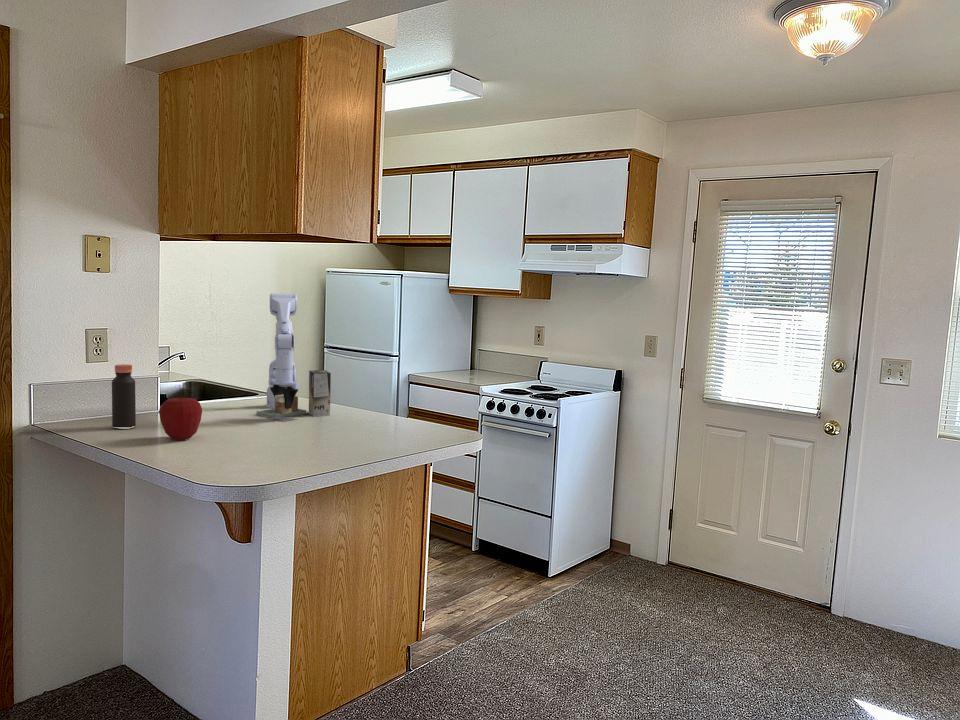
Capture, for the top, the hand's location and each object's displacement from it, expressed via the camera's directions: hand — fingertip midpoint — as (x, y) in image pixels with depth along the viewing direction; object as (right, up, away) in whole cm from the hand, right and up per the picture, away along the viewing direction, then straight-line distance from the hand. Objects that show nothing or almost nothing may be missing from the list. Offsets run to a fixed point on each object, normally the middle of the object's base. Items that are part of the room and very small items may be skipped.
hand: (284, 407), depth 254 cm
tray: (-4, -3, +11) cm, 12 cm away
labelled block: (0, -2, 0) cm, 2 cm away
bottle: (-45, -5, -21) cm, 50 cm away
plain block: (-2, -3, +14) cm, 14 cm away
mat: (0, -5, 0) cm, 5 cm away
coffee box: (+9, -4, +14) cm, 17 cm away
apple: (-22, -7, -34) cm, 41 cm away
